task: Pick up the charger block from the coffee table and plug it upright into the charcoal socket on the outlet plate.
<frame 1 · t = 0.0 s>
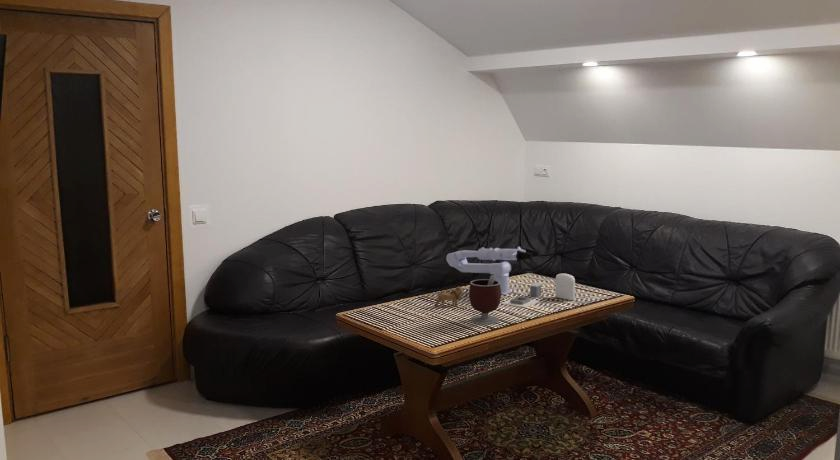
hand: (535, 254, 318), 22 cm above the table, tool horizontal, fingers open, 7 cm apart
lion figurine: (449, 306, 308), on the table
charger block: (535, 296, 324), on the table
outlet plate: (520, 302, 312), on the table
mate gourd: (486, 320, 283), on the table
photo printer: (565, 298, 319), on the table
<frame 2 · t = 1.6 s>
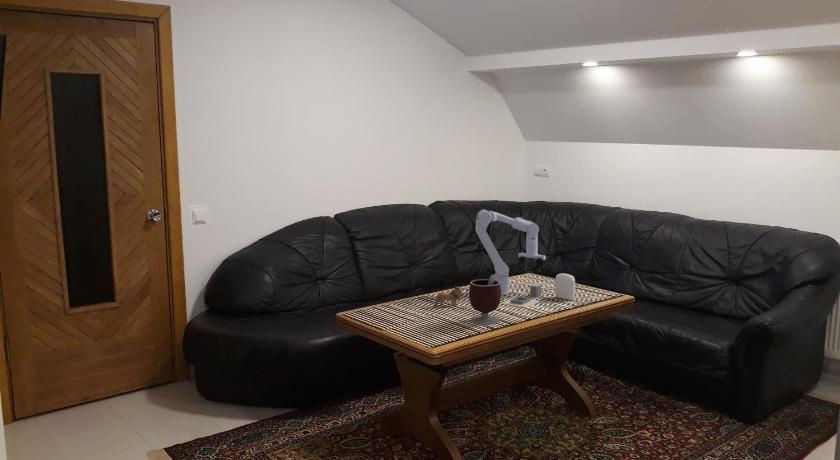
hand: (531, 272, 332), 10 cm above the table, tool pointing down, fingers open, 7 cm apart
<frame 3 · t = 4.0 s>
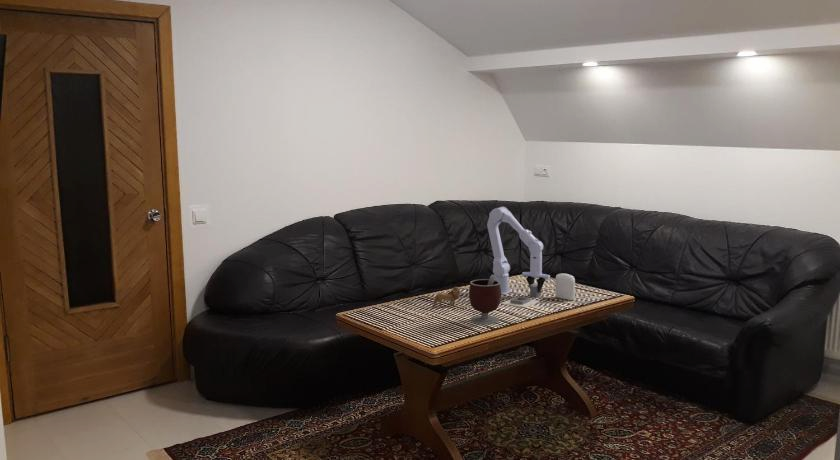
hand: (535, 291, 324), 2 cm above the table, tool pointing down, fingers closed on charger block, 3 cm apart
charger block: (535, 296, 324), on the table, touching gripper
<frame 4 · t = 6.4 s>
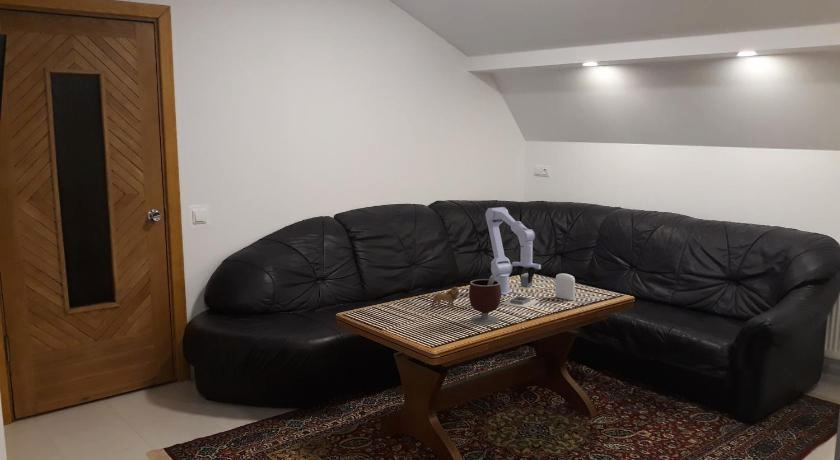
hand: (526, 281, 315), 9 cm above the table, tool pointing down, fingers closed on charger block, 3 cm apart
charger block: (526, 286, 315), point 7 cm above the table, touching gripper
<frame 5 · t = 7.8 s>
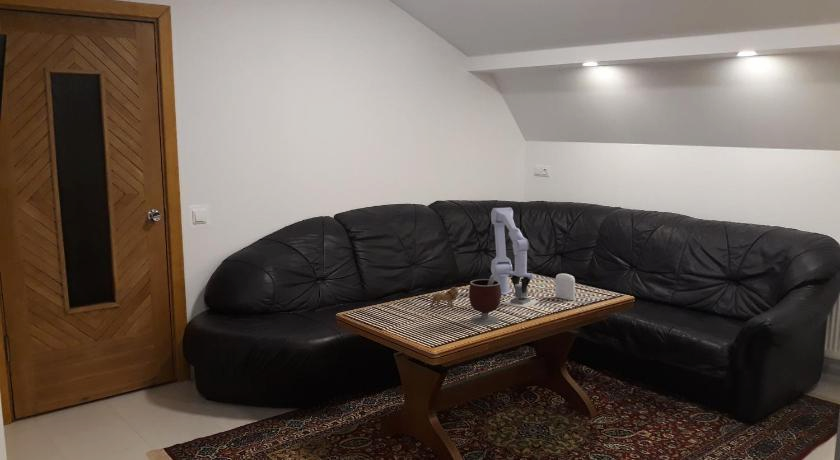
hand: (520, 291, 311), 5 cm above the table, tool pointing down, fingers closed on charger block, 3 cm apart
charger block: (520, 296, 311), point 3 cm above the table, touching gripper
when the fingers open (4 cm above the table, at t = 9.0 s): charger block stays where it is, resting on outlet plate.
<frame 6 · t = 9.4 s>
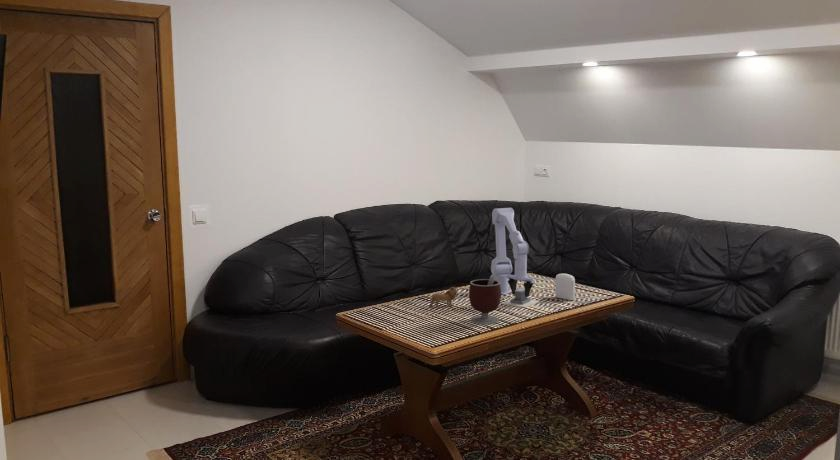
hand: (520, 295, 311), 4 cm above the table, tool pointing down, fingers open, 7 cm apart
charger block: (520, 301, 312), resting on outlet plate
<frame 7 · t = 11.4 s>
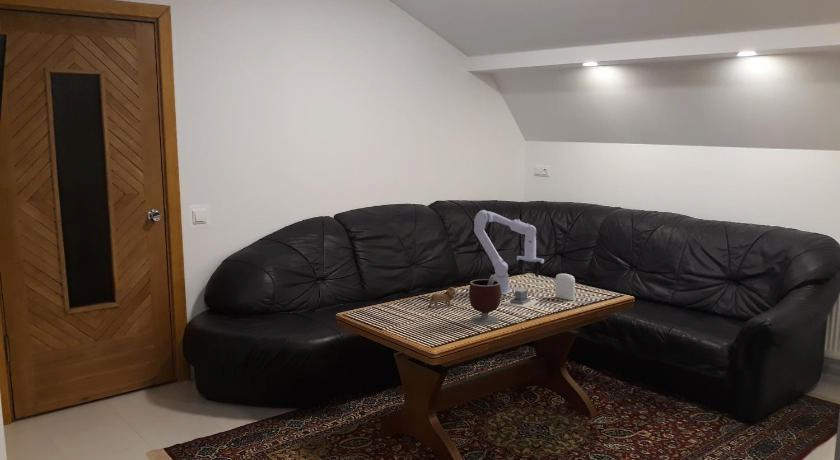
hand: (530, 275, 328), 9 cm above the table, tool pointing down, fingers open, 7 cm apart
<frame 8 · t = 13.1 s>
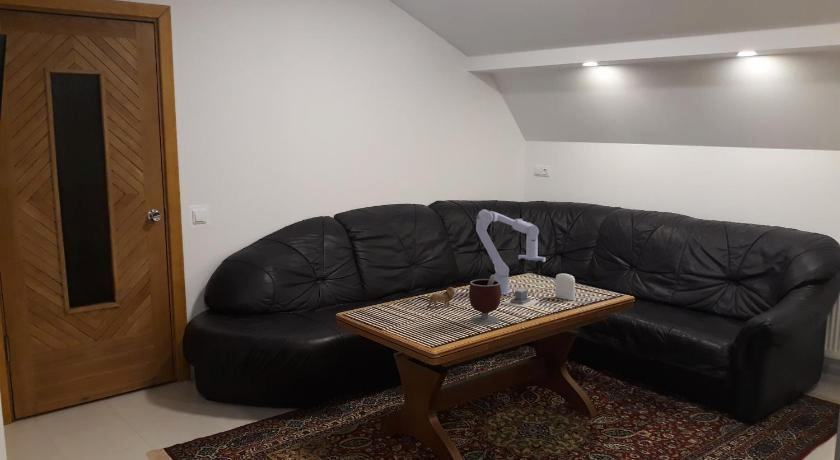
hand: (531, 274, 332), 9 cm above the table, tool pointing down, fingers open, 7 cm apart
at the end: charger block 0.4 cm off-centre on the outlet plate, point 0.4 cm above the outlet plate's base; charger block tilted 0°; the gripper is holding nothing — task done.
